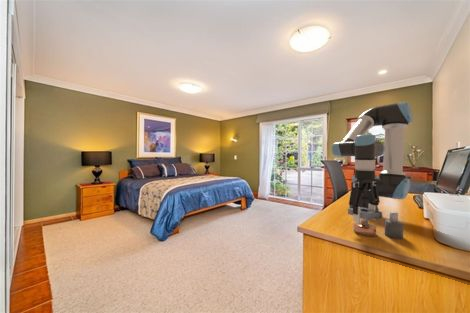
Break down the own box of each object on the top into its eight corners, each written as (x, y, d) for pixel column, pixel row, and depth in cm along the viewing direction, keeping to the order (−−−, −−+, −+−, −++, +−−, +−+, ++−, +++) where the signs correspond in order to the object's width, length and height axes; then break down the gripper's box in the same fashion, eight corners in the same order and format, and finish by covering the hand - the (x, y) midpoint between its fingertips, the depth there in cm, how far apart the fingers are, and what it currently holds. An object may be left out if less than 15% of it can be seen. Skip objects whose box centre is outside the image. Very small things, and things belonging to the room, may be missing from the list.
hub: (361, 227, 91) (361, 208, 91) (380, 234, 83) (380, 213, 83) (349, 230, 88) (349, 210, 88) (367, 237, 80) (367, 216, 80)
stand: (390, 232, 85) (390, 209, 85) (406, 237, 80) (406, 213, 80) (381, 234, 83) (381, 211, 83) (397, 239, 78) (397, 215, 78)
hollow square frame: (361, 211, 91) (361, 206, 91) (382, 217, 83) (382, 212, 82) (348, 213, 88) (348, 208, 88) (367, 220, 79) (367, 214, 79)
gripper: (372, 168, 92) (372, 215, 93) (339, 169, 85) (339, 220, 85) (389, 169, 85) (389, 220, 86) (355, 170, 78) (355, 226, 78)
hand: (364, 220), depth 85 cm, fingers closed on hollow square frame, 9 cm apart
